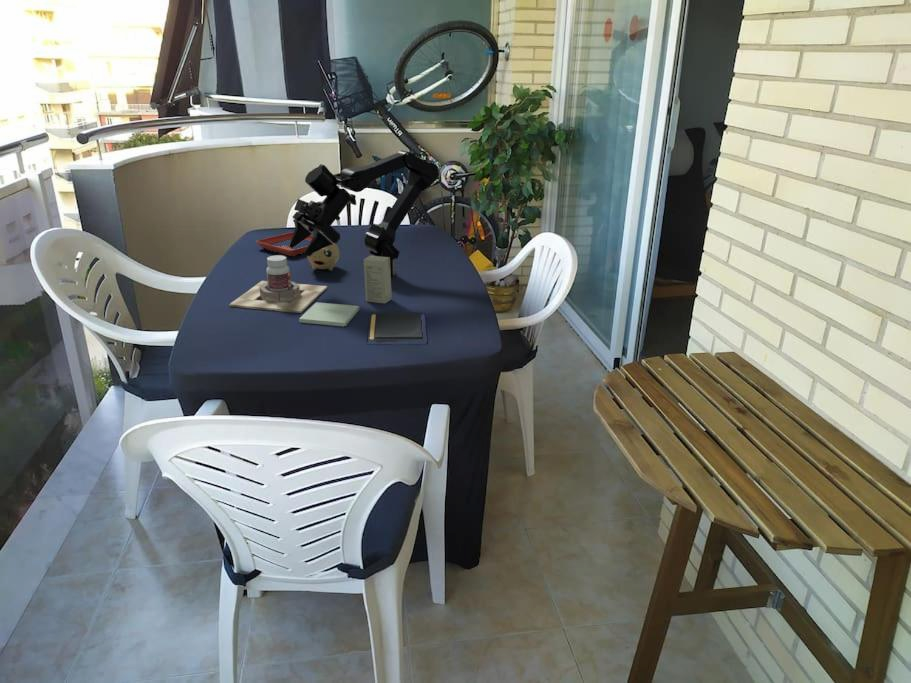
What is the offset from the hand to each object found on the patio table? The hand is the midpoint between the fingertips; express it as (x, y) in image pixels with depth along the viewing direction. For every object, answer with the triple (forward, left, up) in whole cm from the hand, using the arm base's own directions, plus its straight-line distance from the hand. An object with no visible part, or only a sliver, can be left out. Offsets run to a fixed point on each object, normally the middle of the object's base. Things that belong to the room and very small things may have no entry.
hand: (297, 251), depth 178 cm
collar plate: (+4, +4, -12) cm, 14 cm away
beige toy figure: (+1, -22, -12) cm, 25 cm away
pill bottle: (+4, +4, -12) cm, 14 cm away
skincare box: (-23, 0, -12) cm, 26 cm away
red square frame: (+19, -42, -13) cm, 47 cm away
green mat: (-14, +14, -12) cm, 23 cm away
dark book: (-33, +18, -13) cm, 40 cm away
